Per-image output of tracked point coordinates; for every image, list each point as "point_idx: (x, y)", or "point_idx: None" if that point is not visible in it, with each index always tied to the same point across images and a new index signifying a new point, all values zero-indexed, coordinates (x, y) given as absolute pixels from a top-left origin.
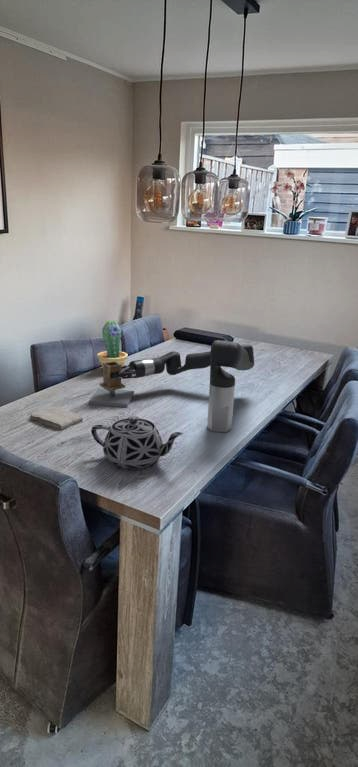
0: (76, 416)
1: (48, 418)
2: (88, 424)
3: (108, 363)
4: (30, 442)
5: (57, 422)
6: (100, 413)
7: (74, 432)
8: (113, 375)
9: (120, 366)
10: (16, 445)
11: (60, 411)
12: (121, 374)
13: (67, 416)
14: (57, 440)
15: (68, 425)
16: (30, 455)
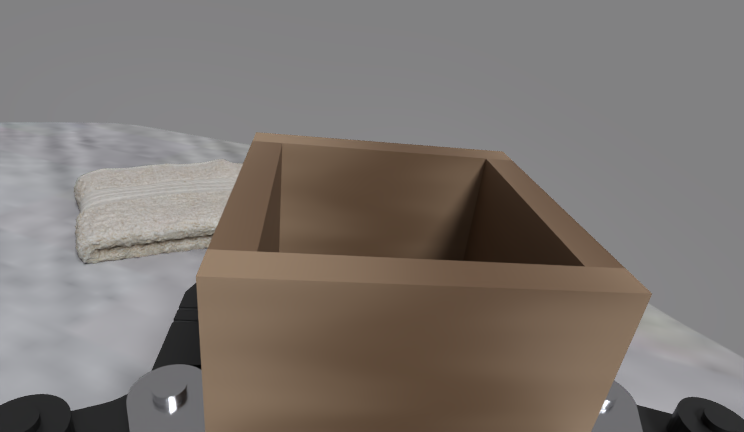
0: (100, 221)
1: (180, 169)
2: (6, 264)
3: (510, 203)
4: (88, 142)
5: (109, 170)
6: (74, 366)
7: (2, 209)
8: (186, 303)
9: (203, 306)
10: (106, 129)
11: (221, 206)
12: (76, 416)
13: (135, 202)
14: (12, 169)
15: (79, 207)
16: (8, 126)
